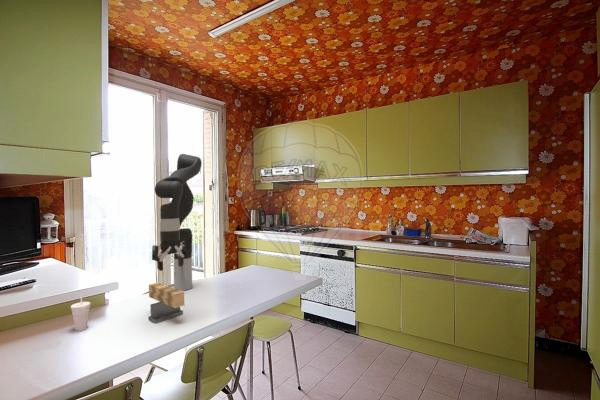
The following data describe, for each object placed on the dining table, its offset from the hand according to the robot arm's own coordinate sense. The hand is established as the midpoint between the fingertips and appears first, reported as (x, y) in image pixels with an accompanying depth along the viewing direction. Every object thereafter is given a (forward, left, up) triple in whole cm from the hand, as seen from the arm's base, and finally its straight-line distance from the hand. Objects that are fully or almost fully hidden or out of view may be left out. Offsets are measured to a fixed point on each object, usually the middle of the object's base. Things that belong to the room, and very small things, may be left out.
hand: (170, 268), depth 127 cm
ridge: (-5, 0, -22) cm, 22 cm away
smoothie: (-21, -26, -22) cm, 40 cm away
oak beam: (-5, 0, -15) cm, 15 cm away
